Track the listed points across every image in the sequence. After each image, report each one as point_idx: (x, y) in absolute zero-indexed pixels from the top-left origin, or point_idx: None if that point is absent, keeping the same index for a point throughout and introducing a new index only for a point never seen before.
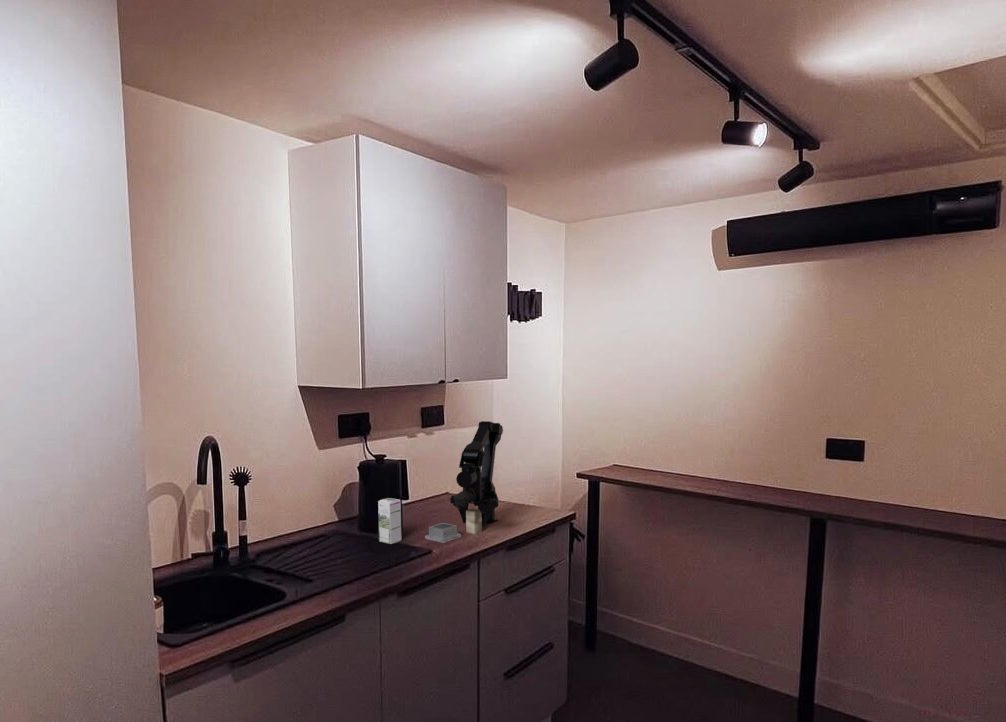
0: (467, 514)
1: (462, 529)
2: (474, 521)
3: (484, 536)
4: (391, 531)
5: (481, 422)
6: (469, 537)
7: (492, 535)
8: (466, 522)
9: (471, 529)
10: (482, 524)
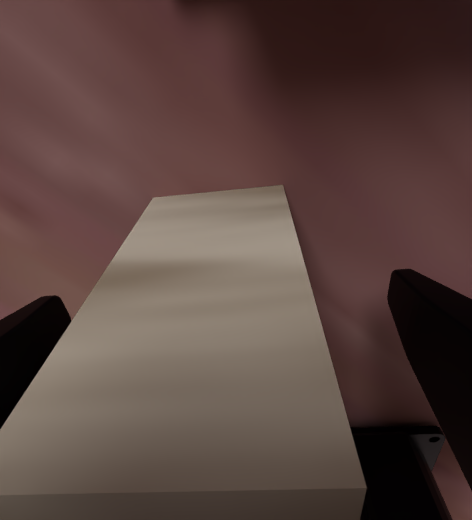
0: (277, 365)
1: (402, 232)
2: (96, 289)
3: (6, 208)
4: None
5: None
6: (58, 41)
7: (3, 278)
8: (294, 246)
9: (191, 211)
10: (20, 313)
